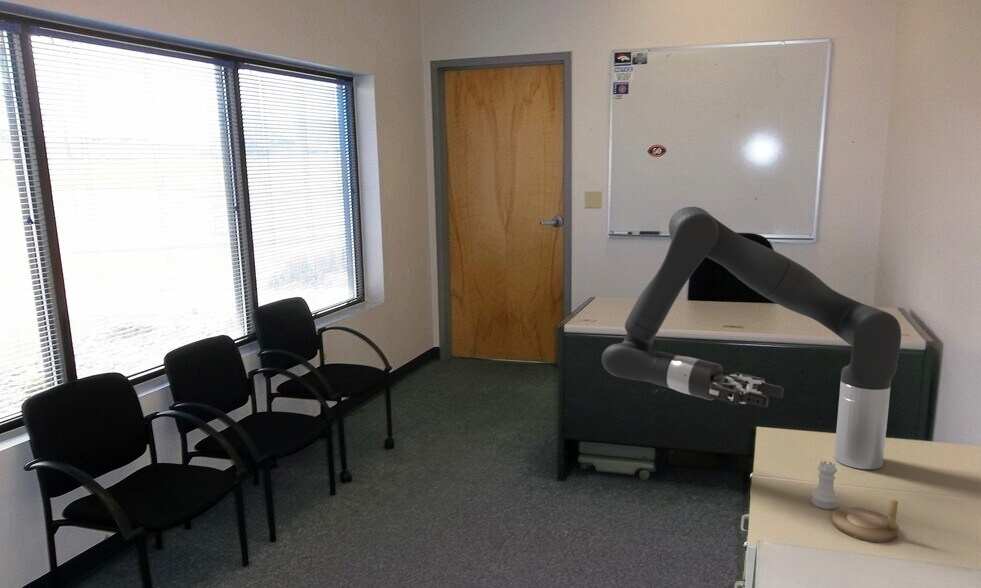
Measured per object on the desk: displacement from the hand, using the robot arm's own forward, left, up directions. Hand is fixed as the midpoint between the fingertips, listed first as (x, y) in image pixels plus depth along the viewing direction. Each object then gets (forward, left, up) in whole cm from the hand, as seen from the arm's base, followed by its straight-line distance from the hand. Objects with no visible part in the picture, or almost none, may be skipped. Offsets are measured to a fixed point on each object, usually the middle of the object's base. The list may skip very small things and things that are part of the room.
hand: (775, 397), depth 132 cm
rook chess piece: (0, +10, -19) cm, 21 cm away
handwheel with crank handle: (+4, +18, -18) cm, 26 cm away
